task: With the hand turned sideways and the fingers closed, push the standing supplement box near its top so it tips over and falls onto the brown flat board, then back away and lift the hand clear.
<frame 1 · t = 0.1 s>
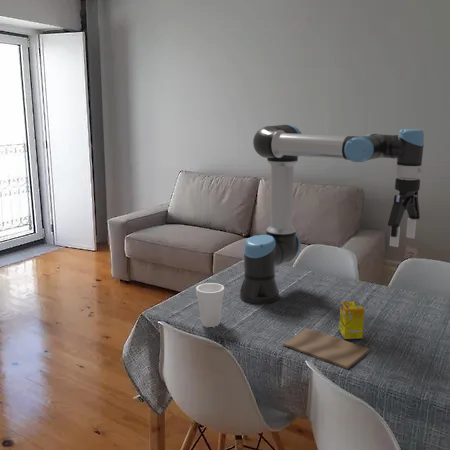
hand: (402, 241, 168), 28 cm above the table, tool pointing down, fingers open, 13 cm apart
foam cup: (210, 324, 173), on the table
supplement box: (350, 337, 163), on the table
brown flat board: (325, 348, 155), on the table
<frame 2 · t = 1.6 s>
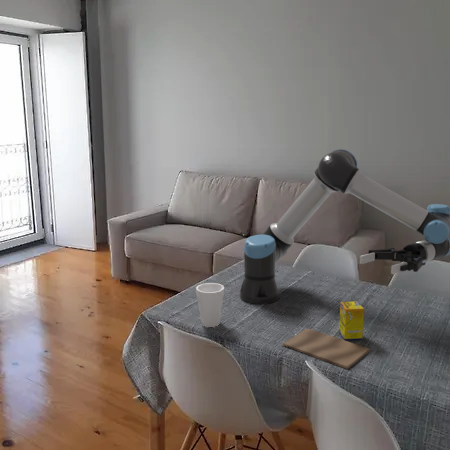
hand: (375, 264, 163), 22 cm above the table, tool horizontal, fingers open, 12 cm apart
nothing on the table moved.
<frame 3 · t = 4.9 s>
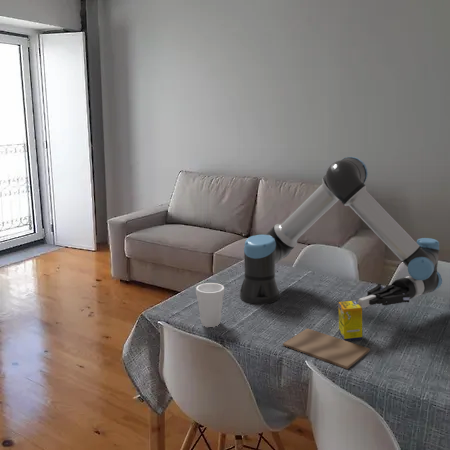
hand: (360, 303, 161), 11 cm above the table, tool horizontal, fingers closed
supplement box: (350, 336, 163), on the table, touching gripper
everything else where it was.
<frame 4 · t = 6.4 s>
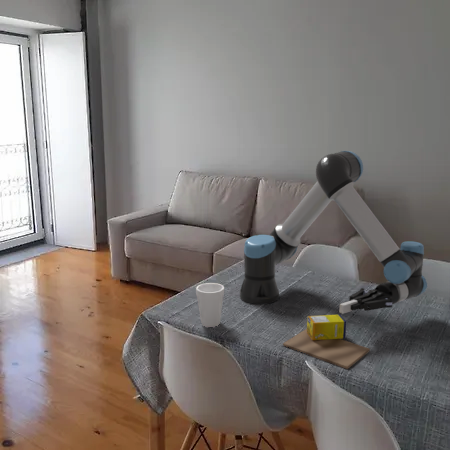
hand: (341, 308, 157), 11 cm above the table, tool horizontal, fingers closed
supplement box: (343, 326, 162), point 4 cm above the table, touching brown flat board
everything else where it was.
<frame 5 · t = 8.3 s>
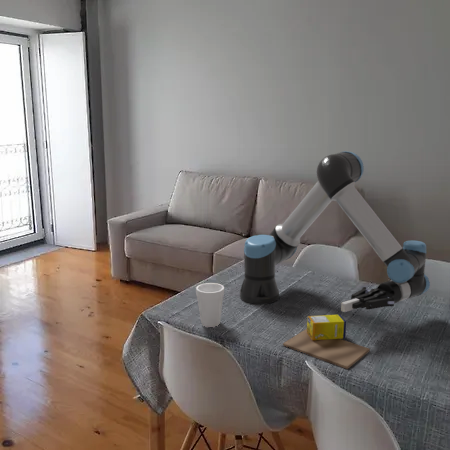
hand: (343, 307, 158), 11 cm above the table, tool horizontal, fingers closed
nothing on the table moved.
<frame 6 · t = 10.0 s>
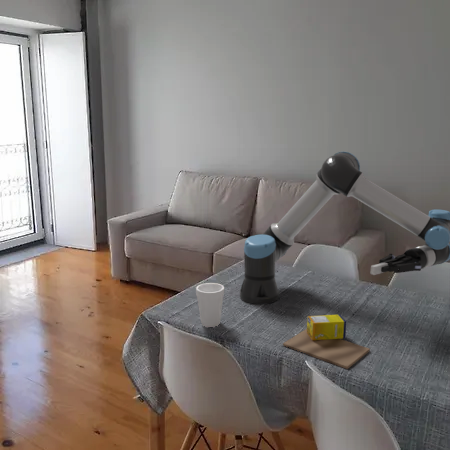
hand: (372, 270, 162), 21 cm above the table, tool horizontal, fingers closed
nothing on the table moved.
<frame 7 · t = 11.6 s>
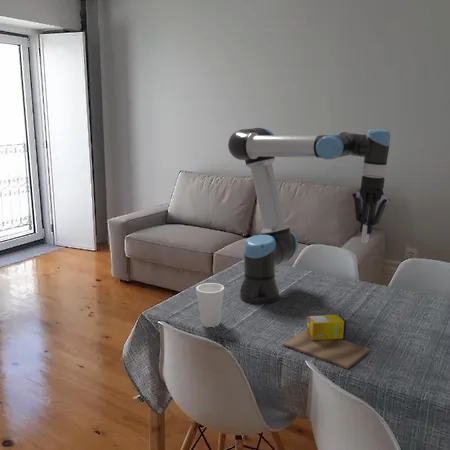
hand: (364, 242, 179), 25 cm above the table, tool pointing down, fingers closed
nothing on the table moved.
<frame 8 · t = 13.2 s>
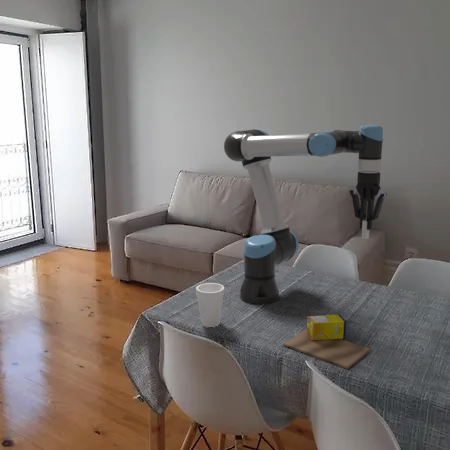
hand: (365, 238, 179), 26 cm above the table, tool pointing down, fingers closed
nothing on the table moved.
at the end: supplement box tilted 89°; supplement box touching brown flat board; supplement box inside the target area (4.2 cm from its centre), point 3.7 cm above the table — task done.
